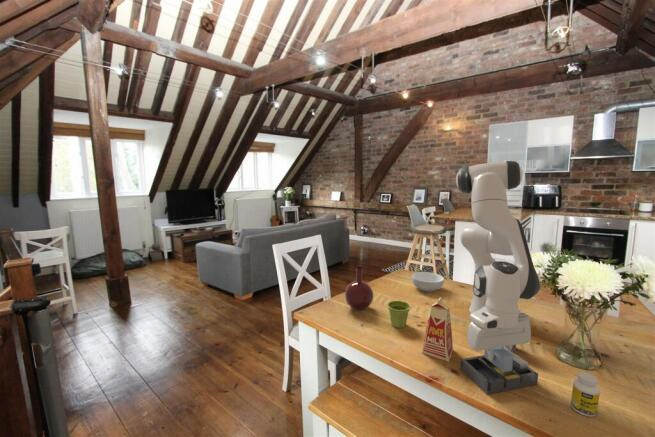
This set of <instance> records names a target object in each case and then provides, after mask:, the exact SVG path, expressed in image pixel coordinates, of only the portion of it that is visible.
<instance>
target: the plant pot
mask: <svg viewBox="0 0 655 437" xmlns="http://www.w3.org/2000/svg"><path fill="white" fill-rule="evenodd" d="M411 306H412V305H411V304H410V303H409V302H406V301H402V300H391V301H389V302H388V303H387V308H388V310H389V316H390V317H389V318H390V324H391V326H393V327H394V328H396V329H403V328H404V327H406V326H407V322H408V321H407V320H408V316H409V311H410V310H411V308H412V307H411Z"/></svg>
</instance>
